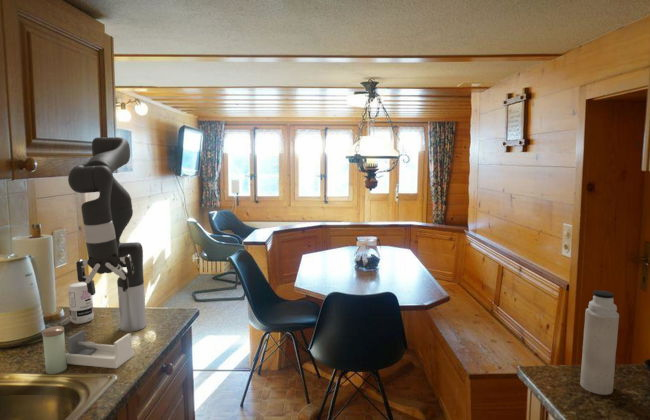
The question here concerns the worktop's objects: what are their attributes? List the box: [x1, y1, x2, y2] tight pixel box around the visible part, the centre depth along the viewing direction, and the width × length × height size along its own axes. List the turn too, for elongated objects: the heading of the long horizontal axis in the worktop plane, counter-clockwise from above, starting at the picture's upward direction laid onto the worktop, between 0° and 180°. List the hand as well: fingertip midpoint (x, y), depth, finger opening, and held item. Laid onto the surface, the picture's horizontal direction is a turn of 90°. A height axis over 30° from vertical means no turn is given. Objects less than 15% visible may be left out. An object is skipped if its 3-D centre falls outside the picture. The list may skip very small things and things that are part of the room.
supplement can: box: [67, 281, 95, 325], centre depth 178 cm, size 8×8×15 cm
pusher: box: [67, 329, 97, 355], centre depth 145 cm, size 7×7×7 cm
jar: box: [41, 325, 68, 375], centre depth 138 cm, size 6×6×13 cm
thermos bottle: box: [579, 290, 620, 396], centre depth 125 cm, size 8×8×28 cm
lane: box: [66, 332, 135, 369], centre depth 145 cm, size 20×9×8 cm, turn 79°
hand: (109, 292), depth 127 cm, fingers open, 8 cm apart
